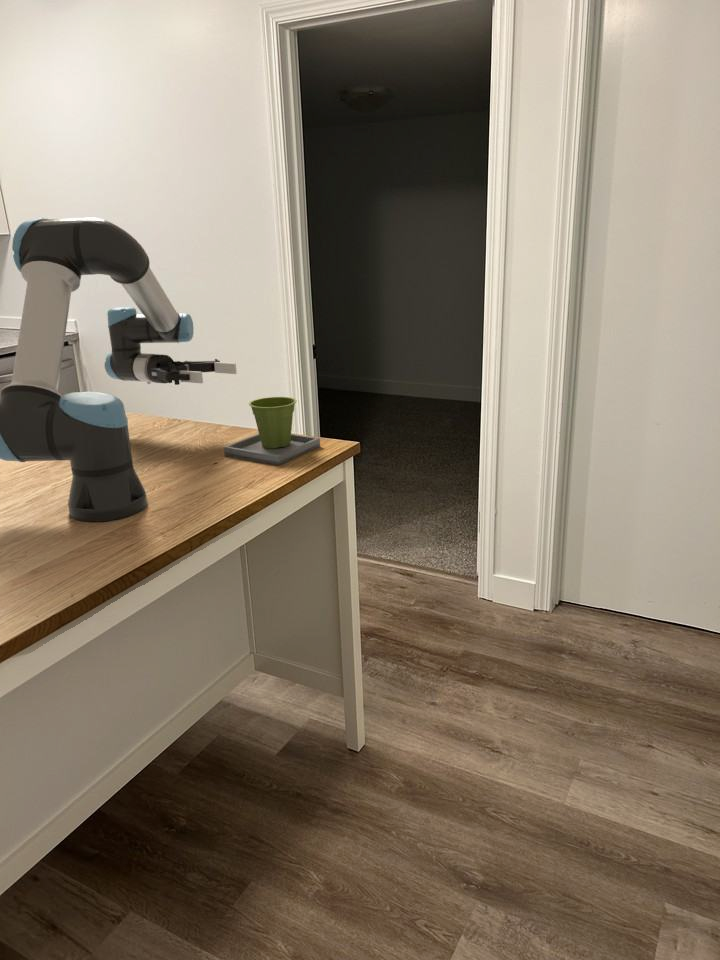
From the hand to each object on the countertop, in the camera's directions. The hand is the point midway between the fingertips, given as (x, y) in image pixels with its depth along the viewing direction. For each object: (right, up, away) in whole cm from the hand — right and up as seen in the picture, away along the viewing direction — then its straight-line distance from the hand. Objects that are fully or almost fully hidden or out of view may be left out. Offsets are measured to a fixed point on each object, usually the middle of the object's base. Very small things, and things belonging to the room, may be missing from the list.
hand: (219, 373), depth 182 cm
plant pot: (+14, -18, +1) cm, 23 cm away
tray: (+14, -20, -1) cm, 24 cm away
